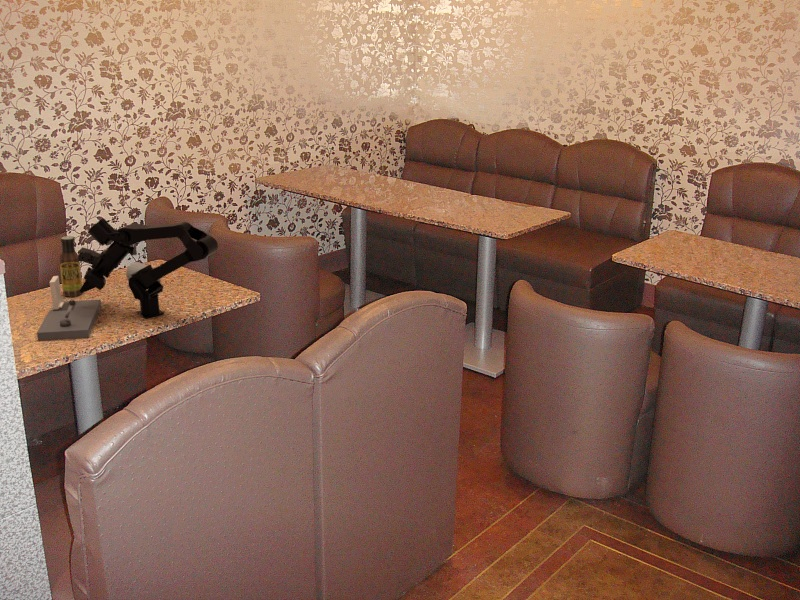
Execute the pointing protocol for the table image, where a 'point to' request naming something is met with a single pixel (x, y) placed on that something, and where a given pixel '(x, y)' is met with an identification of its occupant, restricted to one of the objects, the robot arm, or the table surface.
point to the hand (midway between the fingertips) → (80, 292)
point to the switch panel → (70, 321)
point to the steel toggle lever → (69, 308)
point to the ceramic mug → (134, 268)
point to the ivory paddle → (56, 293)
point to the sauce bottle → (70, 268)
